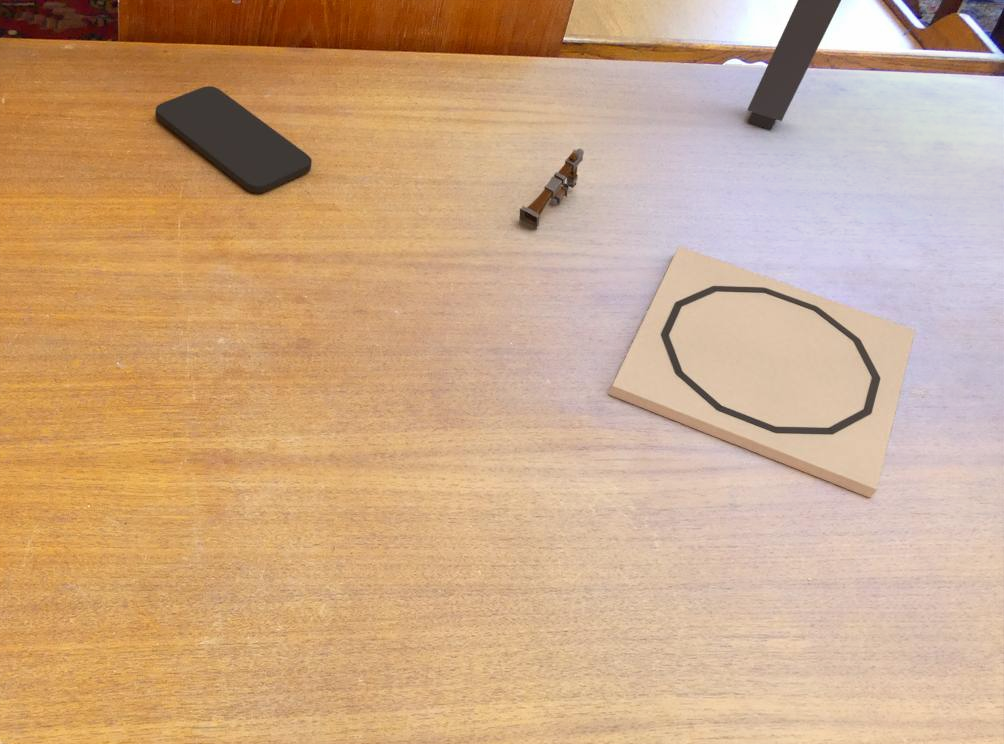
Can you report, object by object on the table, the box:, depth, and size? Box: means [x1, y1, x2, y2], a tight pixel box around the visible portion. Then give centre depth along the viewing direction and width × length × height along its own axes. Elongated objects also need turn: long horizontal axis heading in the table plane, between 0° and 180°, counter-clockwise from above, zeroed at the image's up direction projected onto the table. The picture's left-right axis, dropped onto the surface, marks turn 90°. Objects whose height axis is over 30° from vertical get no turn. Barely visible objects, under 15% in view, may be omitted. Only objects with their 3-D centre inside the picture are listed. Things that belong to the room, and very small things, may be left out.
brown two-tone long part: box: [518, 147, 585, 230], centre depth 98 cm, size 2×8×4 cm, turn 140°
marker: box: [747, 0, 842, 131], centre depth 104 cm, size 3×3×15 cm
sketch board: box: [608, 245, 916, 499], centre depth 88 cm, size 20×20×1 cm
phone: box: [155, 85, 313, 194], centre depth 101 cm, size 7×1×15 cm
